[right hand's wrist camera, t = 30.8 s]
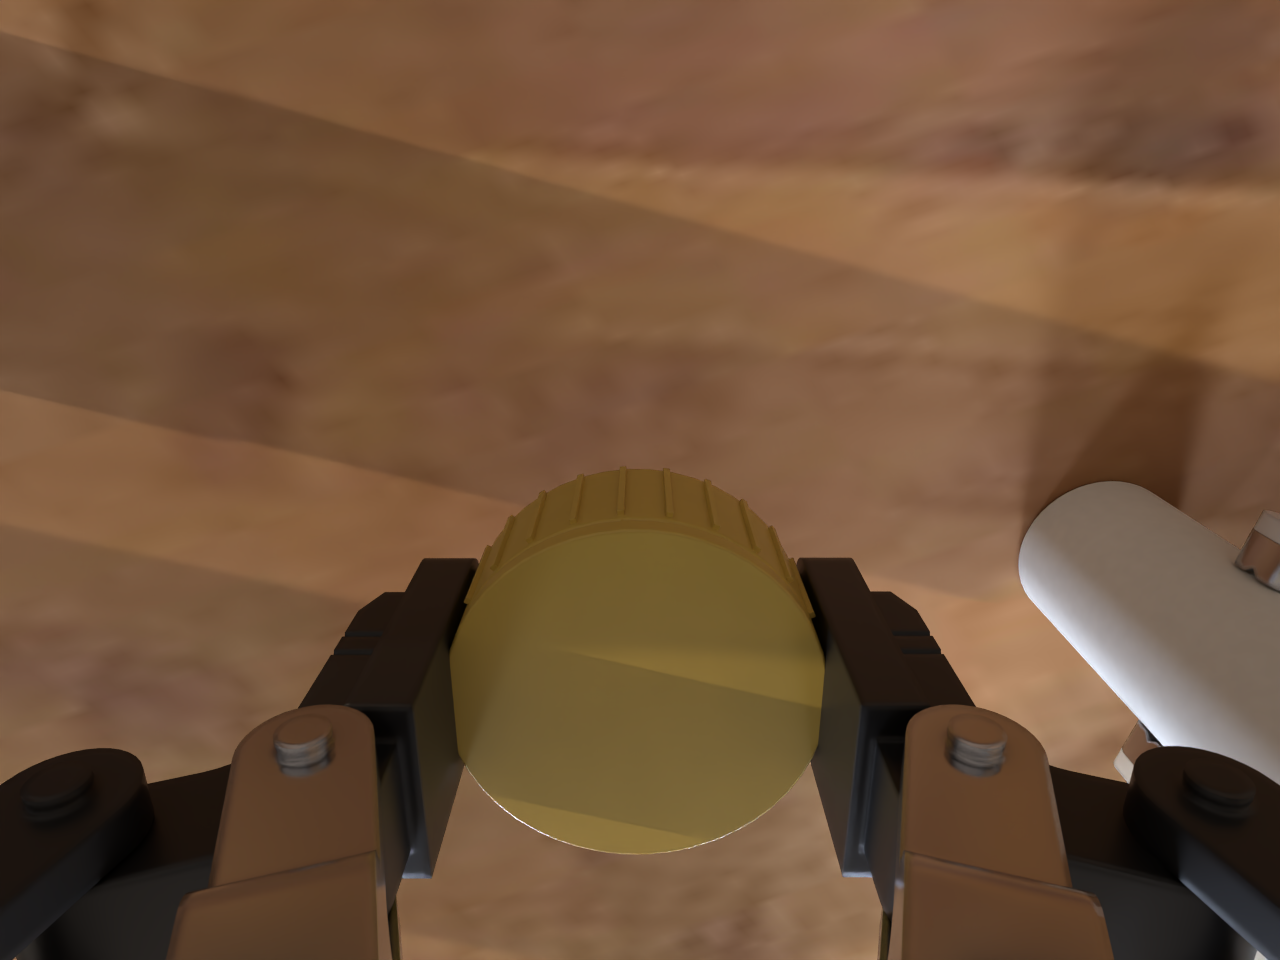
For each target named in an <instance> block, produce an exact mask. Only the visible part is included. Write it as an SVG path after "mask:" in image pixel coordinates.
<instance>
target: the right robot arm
mask: <svg viewBox="0 0 1280 960" xmlns="http://www.w3.org/2000/svg"><path fill="white" fill-rule="evenodd" d="M478 565H479V563H478V561H477V559H476V558H424V559H423V560H422V562H421V563H420V565H419V567H418V569H417V571H416V573H415V574H414V576H413V578H412V580H411V582H410V584H409V585H408V587H407V589H406V591H405V592H385V593H383V594H382V595H380V596H379V597H377V598H376V599H375V600H373V601H372V602H370V603H369V604H367V605H366V606H365V607H363V608H362V609H360V610H359V611H358V612H357V614H356V616H355V617H354V619H353V620H352V622H351V624H350V625H349V627H348V628H347V630H346V632H345V637H342V638H341V640H340V641H339V643H338V645H337V646H336V648H335V649H334V655H331V656H330V657H329V659H328V661H327V662H326V664H325V665H324V667H323V669H322V670H321V672H320V673H319V675H318V677H317V678H316V680H315V682H314V683H313V685H312V686H311V688H310V690H309V691H308V693H307V694H306V696H305V698H304V699H303V701H302V702H301V704H300V706H299V707H298V709H294V710H291V711H288V712H285V713H282V714H280V715H277V716H275V717H273V718H271V719H269V720H267V721H265V722H263V723H262V724H260V725H259V726H257V727H256V728H254V729H253V730H252V731H251V732H250V733H249V734H247V735H246V736H245V737H244V739H243V740H242V741H241V742H240V743H239V745H238V746H237V748H236V750H235V752H234V755H233V758H232V763H231V764H230V765H227V766H224V767H221V768H218V769H214V770H210V771H206V772H202V773H197V774H193V775H188V776H183V777H178V778H174V779H169V780H164V781H159V782H155V783H150V784H147V781H146V777H145V773H144V769H143V766H142V764H141V761H140V760H139V759H138V758H137V757H136V756H134V755H133V754H131V753H129V752H126V751H123V750H119V749H112V748H96V749H86V750H81V751H75V752H71V753H67V754H64V755H60V756H57V757H54V758H51V759H48V760H45V761H43V762H41V763H38V764H36V765H34V766H32V767H30V768H28V769H26V770H24V771H22V772H20V773H18V774H17V775H15V776H13V777H12V778H10V779H9V780H7V781H6V782H4V783H3V784H1V785H0V960H13V959H14V958H15V957H16V958H17V960H403V958H402V943H401V929H400V920H399V912H398V905H397V898H396V894H397V891H398V888H399V885H400V882H401V879H402V878H432V875H433V871H434V868H435V864H436V861H437V857H438V854H439V850H440V847H441V844H442V840H443V837H444V833H445V830H446V826H447V823H448V819H449V816H450V812H451V809H452V805H453V802H454V799H455V795H456V792H457V788H458V785H459V781H460V778H461V774H462V771H463V767H464V763H463V761H462V759H461V758H460V756H459V754H458V746H457V735H456V724H455V713H454V702H453V692H452V681H451V670H450V658H449V650H450V647H451V645H452V642H453V639H454V637H455V634H456V632H457V629H458V627H459V624H460V621H461V619H462V616H463V614H464V611H465V609H466V606H467V604H466V603H464V600H465V598H466V595H467V593H468V590H469V588H470V585H471V583H472V580H473V578H474V575H475V573H476V570H477V568H478ZM796 566H797V569H798V571H799V574H800V577H801V579H802V582H803V584H804V587H805V590H806V592H807V595H808V598H809V600H810V603H811V605H812V608H813V611H814V613H815V616H816V617H814V618H811V620H812V623H813V625H814V628H815V631H816V633H817V636H818V639H819V641H820V644H821V647H822V649H823V652H824V657H825V673H824V684H823V695H822V706H821V717H820V728H819V739H818V746H817V748H816V751H815V753H814V755H813V758H812V759H811V761H810V762H811V765H812V769H813V773H814V776H815V780H816V783H817V787H818V790H819V794H820V797H821V801H822V805H823V808H824V812H825V815H826V819H827V822H828V826H829V829H830V833H831V837H832V840H833V844H834V847H835V851H836V854H837V858H838V861H839V865H840V869H841V872H842V876H843V877H873V881H874V884H875V887H876V890H877V893H878V896H879V899H880V902H881V905H882V912H881V920H880V929H879V943H878V958H877V960H1254V959H1255V956H1256V953H1257V951H1259V952H1260V953H1261V954H1262V955H1263V956H1264V957H1265V958H1266V959H1267V960H1280V785H1279V784H1277V783H1276V782H1274V781H1273V780H1272V779H1270V778H1268V777H1267V776H1265V775H1264V774H1262V773H1261V772H1259V771H1257V770H1255V769H1253V768H1252V767H1250V766H1248V765H1246V764H1244V763H1241V762H1239V761H1237V760H1234V759H1232V758H1229V757H1227V756H1224V755H1221V754H1218V753H1215V752H1211V751H1207V750H1203V749H1198V748H1192V747H1184V746H1163V747H1156V748H1153V749H1150V750H1147V751H1145V752H1144V753H1142V754H1141V755H1140V756H1139V757H1138V758H1137V759H1136V761H1135V764H1134V767H1133V771H1132V775H1131V778H1130V782H1129V783H1125V782H1120V781H1115V780H1110V779H1106V778H1101V777H1096V776H1091V775H1087V774H1082V773H1077V772H1072V771H1068V770H1064V769H1060V768H1056V767H1053V766H1050V765H1049V763H1048V758H1047V755H1046V752H1045V750H1044V748H1043V746H1042V745H1041V743H1040V742H1039V741H1038V740H1037V739H1036V737H1035V736H1034V735H1033V734H1031V733H1030V732H1029V731H1028V730H1027V729H1026V728H1024V727H1023V726H1021V725H1020V724H1018V723H1017V722H1015V721H1013V720H1011V719H1009V718H1007V717H1005V716H1003V715H1000V714H998V713H995V712H992V711H989V710H986V709H982V708H978V707H976V706H975V705H974V703H973V701H972V700H971V698H970V696H969V695H968V693H967V692H966V690H965V688H964V687H963V685H962V683H961V682H960V680H959V678H958V677H957V675H956V674H955V672H954V670H953V669H952V667H951V665H950V664H949V662H948V660H947V659H946V657H945V656H944V654H941V649H940V647H939V646H938V644H937V643H936V641H935V639H934V638H933V636H930V631H929V629H928V628H927V626H926V625H925V623H924V621H923V620H922V618H921V616H920V615H919V613H918V611H917V610H916V609H914V608H913V607H912V606H910V605H909V604H907V603H906V602H905V601H903V600H902V599H900V598H899V597H897V596H896V595H895V594H893V593H892V592H870V590H869V588H868V586H867V585H866V583H865V581H864V579H863V577H862V575H861V573H860V571H859V569H858V568H857V566H856V564H855V562H854V560H853V559H852V558H799V559H798V561H797V565H796Z"/></svg>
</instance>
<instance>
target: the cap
mask: <svg viewBox="0 0 1280 960" xmlns="http://www.w3.org/2000/svg"><path fill="white" fill-rule="evenodd" d="M464 603H466V604H467V606H466V609H465V611H464V614H463V616H462V619H461V621H460V624H459V627H458V629H457V632H456V634H455V637H454V639H453V642H452V645H451V647H450V650H449V658H450V670H451V681H452V692H453V702H454V713H455V724H456V735H457V746H458V754H459V756H460V758H461V759H462V761H463V763H464V764H465V766H466V768H467V770H468V771H469V773H470V774H471V776H472V777H473V778H474V779H475V781H476V782H477V783H478V784H479V786H480V787H481V788H482V790H483V791H484V792H485V793H486V794H487V795H488V796H489V797H491V798H492V799H493V800H494V801H495V802H496V803H497V804H498V805H499V806H500V807H501V808H503V809H504V810H505V811H507V812H508V813H509V814H510V815H512V816H513V817H514V818H516V819H517V820H519V821H521V822H522V823H524V824H526V825H527V826H529V827H531V828H532V829H534V830H536V831H538V832H540V833H543V834H545V835H547V836H549V837H551V838H554V839H556V840H559V841H562V842H565V843H568V844H571V845H574V846H577V847H581V848H586V849H591V850H595V851H600V852H608V853H617V854H655V853H666V852H673V851H678V850H683V849H688V848H693V847H696V846H699V845H702V844H705V843H709V842H712V841H715V840H717V839H719V838H722V837H724V836H726V835H729V834H731V833H733V832H735V831H737V830H739V829H741V828H742V827H744V826H746V825H747V824H749V823H751V822H753V821H754V820H756V819H757V818H758V817H760V816H761V815H763V814H764V813H765V812H767V811H768V810H769V809H771V808H772V807H773V806H774V805H775V804H776V803H777V802H778V801H779V800H780V799H781V798H783V797H784V796H785V795H786V794H787V793H788V792H789V790H790V789H791V788H792V787H793V786H794V784H795V783H796V782H797V781H798V779H799V778H800V777H801V776H802V774H803V772H804V771H805V769H806V767H807V766H808V764H809V763H810V761H811V759H812V758H813V755H814V753H815V751H816V748H817V746H818V739H819V728H820V717H821V706H822V695H823V684H824V673H825V657H824V652H823V649H822V647H821V644H820V641H819V639H818V636H817V633H816V631H815V628H814V625H813V623H812V620H811V618H814V617H816V616H815V613H814V611H813V608H812V605H811V603H810V600H809V598H808V595H807V592H806V590H805V587H804V584H803V582H802V579H801V577H800V574H799V571H798V569H797V566H796V564H795V561H794V559H793V558H791V559H789V558H788V557H787V555H786V553H785V551H784V549H783V548H782V546H781V544H780V541H779V538H778V536H777V533H776V530H775V528H774V527H773V526H770V527H769V528H768V526H767V525H766V524H765V523H764V522H763V521H762V520H761V519H760V518H759V517H758V516H757V515H756V514H755V513H754V512H753V511H752V510H751V509H749V508H748V505H747V502H746V501H745V500H744V499H741V500H740V501H739V500H737V499H736V498H735V497H733V496H731V495H729V494H728V493H726V492H724V491H722V490H720V489H719V488H717V487H715V486H713V485H711V481H709V480H707V479H705V480H704V482H703V481H700V480H698V479H695V478H692V477H688V476H684V475H680V474H676V473H673V472H670V469H667V468H663V471H658V470H650V469H626V466H623V467H620V470H616V471H607V472H601V473H597V474H593V475H589V476H585V477H584V474H580V475H578V476H577V479H576V480H573V481H571V482H568V483H565V484H563V485H560V486H559V487H557V488H555V489H553V490H551V491H549V492H547V493H546V492H545V490H544V491H542V492H540V493H539V496H538V499H536V500H535V501H533V502H532V503H531V504H529V505H528V506H527V507H525V508H524V509H523V510H522V511H521V512H520V513H519V514H518V515H517V516H515V517H514V516H513V515H511V516H510V517H509V518H508V520H507V522H506V525H505V528H504V530H503V531H502V532H501V533H500V535H499V536H498V537H497V538H496V540H495V542H494V543H493V545H492V547H490V546H488V545H487V547H486V548H485V550H484V553H483V555H482V558H481V560H480V563H479V565H478V568H477V570H476V573H475V575H474V578H473V580H472V583H471V585H470V588H469V590H468V593H467V595H466V598H465V600H464Z"/></svg>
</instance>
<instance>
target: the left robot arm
mask: <svg viewBox="0 0 1280 960" xmlns="http://www.w3.org/2000/svg"><path fill="white" fill-rule="evenodd" d="M1234 563H1235V564H1236V565H1238V566H1239V567H1240V568H1242V569H1243V570H1247V571H1250V572H1254V573H1255V576H1256V578H1257V579H1258V580H1260V581H1261V582H1263V583H1264V584H1266V585H1268V586H1270V587H1272V588H1274V589H1276V590H1278V591H1280V513H1277V512H1274V511H1270V510H1263V512H1262V514H1261V516H1260V517H1259V519H1258V521H1257V523H1256V524H1255V526H1254V528H1253V529H1252V531H1251V533H1250V534H1249V536H1248V538H1247V540H1246V542H1245V543H1244V545H1243V547H1242V549H1241V550H1240V552H1239V554H1238V556H1237V558H1236V559H1235V562H1234ZM1156 747H1163V745H1162V744H1161V743H1160V742H1159V741H1158V739H1157V738H1156V737H1155V736H1154V735H1153V734H1152V733H1151V732H1150V731H1149V730H1148V728H1147V727H1146V726H1145V725H1144V724H1143V723H1142V722H1141V721H1140V720H1138V722H1137V724H1136V725H1135V727H1134V729H1133V730H1132V732H1131V733H1130V735H1129V737H1128V738H1127V740H1126V741H1125V743H1124V745H1123V746H1122V748H1121V750H1120V752H1119V753H1118V755H1117V757H1116V758H1115V760H1114V762H1113V764H1114V766H1115V768H1116V769H1117V770H1118V772H1119V773H1120V774H1121V775H1122V777H1123V778H1124V779H1125V780H1126V781H1127V783H1129V782H1130V778H1131V775H1132V771H1133V767H1134V764H1135V761H1136V759H1137V758H1138V757H1139V756H1140V755H1141V754H1142V753H1144V752H1145V751H1147V750H1150V749H1153V748H1156ZM1254 960H1267V959H1266V958H1265V957H1264V956H1263V955H1262V954H1261V953H1260V952H1259V951H1257V953H1256V956H1255V959H1254Z"/></svg>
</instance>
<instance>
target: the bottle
mask: <svg viewBox="0 0 1280 960" xmlns="http://www.w3.org/2000/svg"><path fill="white" fill-rule="evenodd" d="M1239 552H1240V549H1239V548H1237V547H1236V546H1234V545H1233V544H1231V543H1229V542H1228V541H1226V540H1225V539H1223V538H1222V537H1220V536H1219V535H1217V534H1215V533H1214V532H1212V531H1211V530H1209V529H1208V528H1206V527H1205V526H1203V525H1202V524H1200V523H1198V522H1197V521H1195V520H1194V519H1192V518H1191V517H1189V516H1188V515H1186V514H1184V513H1183V512H1181V511H1180V510H1178V509H1177V508H1175V507H1174V506H1172V505H1171V504H1169V503H1167V502H1166V501H1164V500H1163V499H1161V498H1160V497H1158V496H1157V495H1155V494H1153V493H1152V492H1150V491H1149V490H1147V489H1145V488H1143V487H1141V486H1138V485H1135V484H1131V483H1127V482H1120V481H1106V482H1097V483H1092V484H1088V485H1085V486H1082V487H1079V488H1076V489H1074V490H1072V491H1070V492H1067V493H1066V494H1064V495H1062V496H1061V497H1059V498H1057V499H1056V500H1055V501H1053V502H1052V503H1051V504H1049V505H1048V506H1047V507H1046V508H1045V509H1044V510H1043V511H1042V512H1041V513H1040V514H1039V515H1038V517H1037V518H1036V519H1035V520H1034V522H1033V523H1032V525H1031V526H1030V528H1029V529H1028V531H1027V533H1026V535H1025V537H1024V540H1023V542H1022V545H1021V549H1020V554H1019V575H1020V579H1021V583H1022V585H1023V588H1024V590H1025V592H1026V593H1027V595H1028V597H1029V598H1030V599H1031V600H1032V601H1033V603H1034V604H1035V605H1036V606H1037V607H1038V608H1039V609H1040V610H1041V611H1042V613H1043V614H1044V615H1045V616H1046V617H1047V618H1048V619H1049V620H1050V621H1051V622H1052V624H1053V625H1054V626H1055V627H1056V628H1057V629H1058V630H1059V631H1060V632H1061V633H1062V635H1063V636H1064V637H1065V638H1066V639H1067V640H1068V641H1069V642H1070V643H1071V645H1072V646H1073V647H1074V648H1075V649H1076V650H1077V651H1078V652H1079V653H1080V654H1081V656H1082V657H1083V658H1084V659H1085V660H1086V661H1087V662H1088V663H1089V664H1090V666H1091V667H1092V668H1093V669H1094V670H1095V671H1096V672H1097V673H1098V674H1099V675H1100V677H1101V678H1102V679H1103V680H1104V681H1105V682H1106V683H1107V684H1108V685H1109V686H1110V688H1111V689H1112V690H1113V691H1114V692H1115V693H1116V694H1117V695H1118V696H1119V698H1120V699H1121V700H1122V701H1123V702H1124V703H1125V704H1126V705H1127V706H1128V707H1129V709H1130V710H1131V711H1132V712H1133V713H1134V714H1135V715H1136V716H1137V717H1138V719H1139V720H1140V721H1141V722H1142V723H1143V724H1144V725H1145V726H1146V727H1147V728H1148V730H1149V731H1150V732H1151V733H1152V734H1153V735H1154V736H1155V737H1156V738H1157V739H1158V741H1159V742H1160V743H1161V744H1162V745H1163V746H1184V747H1192V748H1198V749H1203V750H1207V751H1211V752H1215V753H1218V754H1221V755H1224V756H1227V757H1229V758H1232V759H1234V760H1237V761H1239V762H1241V763H1244V764H1246V765H1248V766H1250V767H1252V768H1253V769H1255V770H1257V771H1259V772H1261V773H1262V774H1264V775H1265V776H1267V777H1268V778H1270V779H1272V780H1273V781H1274V782H1276V783H1277V784H1279V785H1280V591H1278V590H1276V589H1274V588H1272V587H1270V586H1268V585H1266V584H1264V583H1263V582H1261V581H1260V580H1258V579H1257V578H1256V576H1255V573H1254V572H1250V571H1247V570H1243V569H1242V568H1240V567H1239V566H1238V565H1236V564H1235V563H1234V562H1235V559H1236V558H1237V556H1238V554H1239Z"/></svg>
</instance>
